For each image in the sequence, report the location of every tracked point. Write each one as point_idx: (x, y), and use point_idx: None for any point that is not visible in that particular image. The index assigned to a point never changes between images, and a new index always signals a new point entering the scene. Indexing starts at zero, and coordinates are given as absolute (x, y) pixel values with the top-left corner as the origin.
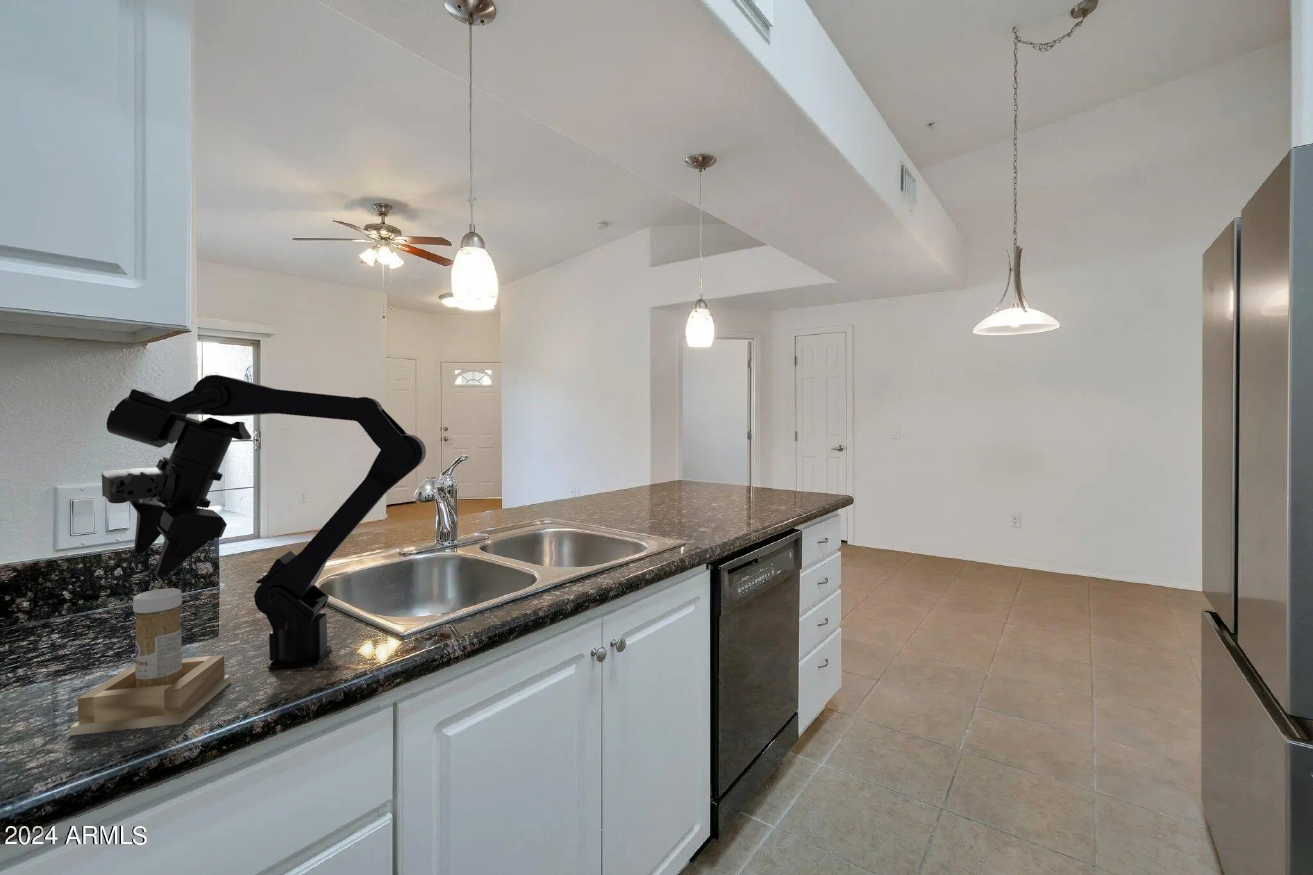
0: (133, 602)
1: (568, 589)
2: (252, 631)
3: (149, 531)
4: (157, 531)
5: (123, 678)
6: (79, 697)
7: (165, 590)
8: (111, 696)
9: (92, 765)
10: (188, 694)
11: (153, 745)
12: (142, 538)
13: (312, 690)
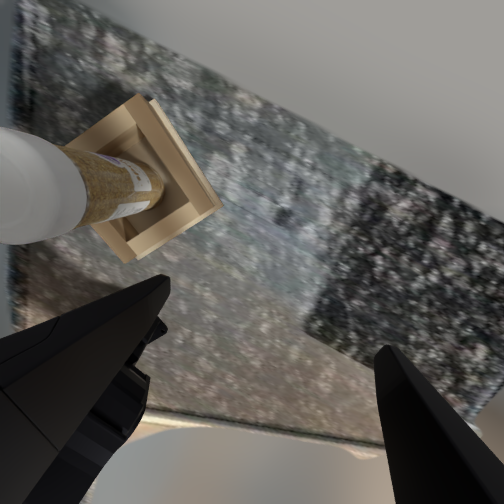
0: (9, 129)
1: None
2: (279, 353)
3: (421, 464)
4: (404, 478)
5: (164, 163)
6: (140, 95)
7: (2, 213)
8: (106, 117)
9: (40, 63)
10: None
11: (33, 121)
12: (409, 409)
13: (23, 275)
